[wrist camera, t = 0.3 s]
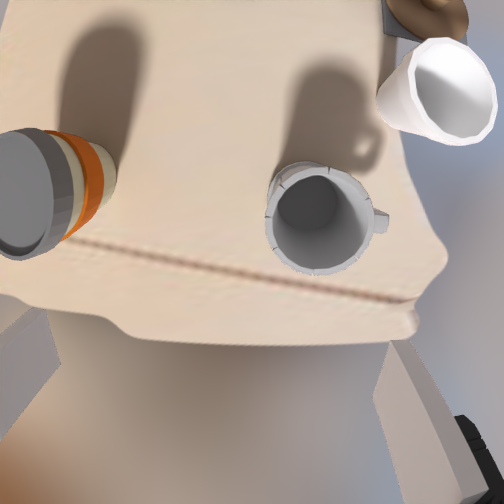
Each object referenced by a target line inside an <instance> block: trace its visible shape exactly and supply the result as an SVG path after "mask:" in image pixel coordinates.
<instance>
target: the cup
mask: <svg viewBox="0 0 504 504" xmlns="http://www.w3.org/2000/svg"><path fill="white" fill-rule="evenodd" d="M368 197H369V195H368V193H367V192H366V190H365V189H364V187H363V186H362V185H361V183H360V182H359V181H357V180H356V179H355V178H353V177H352V176H351V175H349V174H348V173H347V172H344V171H341V170H338V169H335V168H332V167H326V166H325V165H321V164H318V163H315V162H312V161H302V162H296V163H293V164H290V165H288V166H286V167H285V168H283V169H282V170H281V171H280V172H278V173H277V175H276V176H275V177H274V179H273V180H272V182H271V183H270V187H269V191H268V194H267V205H268V206H267V210H266V213H265V215H266V216H265V234H266V236H267V239H268V242H269V244H270V247H271V249H272V248H273V250H272V251H273V252H274V253H275V254H276V256H277V257H278V258H279V259H280V260H281V262H282V263H284V264H285V265H287V266H288V267H290V268H291V269H293V270H295V271H296V272H300V273H303V274H307V275H312V273H313V275H314V276H322V275H331V274H334V273H337V272H340V271H342V270H345V269H346V268H348V267H349V266H351V265H352V264H353V263H355V262H356V261H357V259H356V258H355V256H356V257H357V258H358V259H359V258H360V257H361V256H362V254H363V253H364V252H365V250H366V249H367V248H368V246H369V243H370V241H371V238H372V235H373V233H379V234H382V233H385V232H386V231H387V228H388V226H389V215H388V214H386V213H384V212H382V211H380V210H378V209H375V208H373V206H372V202H371V199H370V198H368Z"/></svg>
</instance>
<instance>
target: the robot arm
mask: <svg viewBox="0 0 504 504" xmlns="http://www.w3.org/2000/svg"><path fill="white" fill-rule="evenodd" d="M60 365H61V362H60V359H59V356H58V353H57V349H56V346H55V343H54V339H53V336H52V332H51V329H50V325H49V321H48V318H47V313H46V310H44V309H40V308H35V307H32V308H31V309H30V310H28V311H27V312H26V313H25V314H24V315H22V316H21V317H20V318H19V319H17V320H16V321H15V322H14V323H13V324H12V325H10V326H9V327H8V328H7V329H6V330H4V331H3V332H2V333H1V334H0V441H1V440H2V439H3V437H4V436H5V435H6V433H7V432H8V430H9V429H10V428H11V427H12V425H13V424H14V423H15V421H16V420H17V419H18V417H19V416H20V415H21V413H22V412H23V411H24V409H25V408H26V407H27V406H28V404H29V403H30V402H31V401H32V399H33V398H34V397H35V396H36V394H37V393H38V392H39V391H40V389H41V388H42V387H43V386H44V384H45V383H46V382H47V380H48V379H49V378H50V377H51V376H52V374H53V373H54V372H55V371H56V370H57V369H58V367H59V366H60ZM372 398H373V401H374V404H375V407H376V410H377V413H378V416H379V419H380V422H381V426H382V429H383V432H384V435H385V438H386V442H387V445H388V448H389V452H390V455H391V458H392V462H393V465H394V468H395V472H396V476H397V479H398V483H399V486H400V490H401V493H402V497H403V501H404V504H504V480H503V478H502V476H501V474H500V472H499V470H498V468H497V466H496V464H495V462H494V460H493V458H492V456H491V454H490V452H489V450H488V449H486V444H485V442H484V441H483V439H481V435H480V433H479V431H478V430H477V428H476V426H475V424H474V423H472V422H471V421H470V420H469V419H468V418H467V417H466V416H464V415H459V416H455V417H454V416H453V415H452V413H451V411H450V409H449V407H448V405H447V404H446V402H445V400H444V398H443V396H442V395H441V393H440V391H439V389H438V387H437V386H436V384H435V382H434V380H433V379H432V377H431V375H430V374H429V372H428V370H427V368H426V367H425V365H424V363H423V362H422V360H421V358H420V357H419V355H418V353H417V352H416V350H415V348H414V347H413V345H412V343H411V342H410V340H390V344H389V348H388V351H387V354H386V357H385V361H384V364H383V367H382V370H381V373H380V376H379V379H378V382H377V385H376V388H375V390H374V393H373V396H372Z"/></svg>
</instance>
